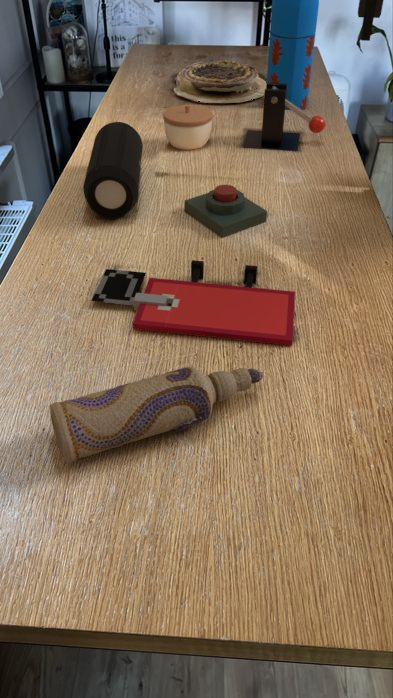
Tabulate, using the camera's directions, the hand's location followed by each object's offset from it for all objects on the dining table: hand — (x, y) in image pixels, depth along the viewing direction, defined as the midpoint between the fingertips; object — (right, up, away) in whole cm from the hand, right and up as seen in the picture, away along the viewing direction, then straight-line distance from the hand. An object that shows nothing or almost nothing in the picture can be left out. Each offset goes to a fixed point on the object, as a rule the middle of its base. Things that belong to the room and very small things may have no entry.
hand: (365, 38), depth 102 cm
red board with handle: (-30, -47, -13) cm, 57 cm away
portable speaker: (-45, -23, +15) cm, 53 cm away
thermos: (-6, +9, +51) cm, 52 cm away
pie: (-23, +18, +61) cm, 68 cm away
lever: (-8, -3, +26) cm, 28 cm away
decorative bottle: (-34, -64, -31) cm, 78 cm away
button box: (-24, -29, +7) cm, 39 cm away
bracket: (-12, -8, +31) cm, 34 cm away
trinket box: (-31, -9, +31) cm, 45 cm away
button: (-24, -27, +4) cm, 36 cm away
